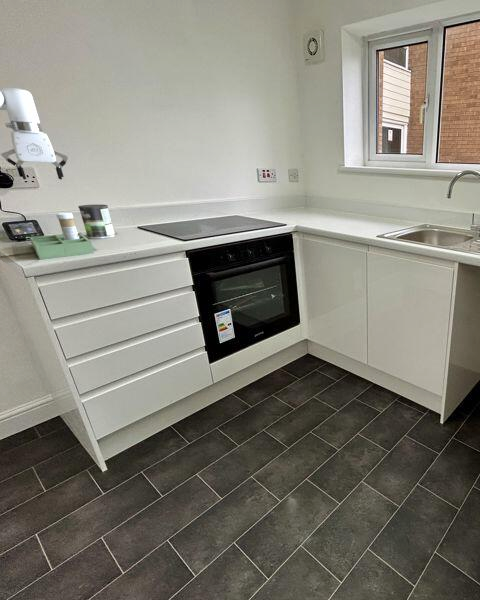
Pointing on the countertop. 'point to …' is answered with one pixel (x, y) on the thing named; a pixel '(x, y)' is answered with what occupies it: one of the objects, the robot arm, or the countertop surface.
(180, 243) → the countertop surface
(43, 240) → the grid tray
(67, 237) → the sprinkles bottle
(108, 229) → the coffee can
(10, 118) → the robot arm
